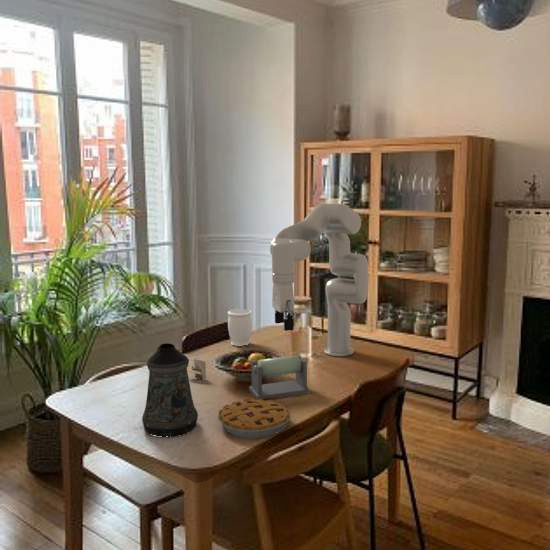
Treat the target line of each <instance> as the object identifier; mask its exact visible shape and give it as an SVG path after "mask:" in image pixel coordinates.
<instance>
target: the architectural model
mask: <svg viewBox="0 0 550 550" xmlns="http://www.w3.org/2000/svg"><path fill="white" fill-rule="evenodd" d="M193 363H194V365H191V367H190V368H187V372H189V373H193V374H194V377H195V376H197V377H196V378H197V379H198V380H199V379H200V378H202V379H200V380H203V381H206V380H205V379H207V374H206V373H207V372H206V370H207V369H206V361H205V360H202V359H198V358H194V360H193Z"/></svg>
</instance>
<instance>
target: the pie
mask: <svg viewBox="0 0 550 550" xmlns="http://www.w3.org/2000/svg"><path fill="white" fill-rule="evenodd" d="M217 420H218V421H219V423H220V424H221V425H222V426H224V427H223V428H224V429H225V431H226V432H227V431H228V432H227V433H229V432H230V433H229V434H230V435H233V434H234V435H236V436H235V437H237V436H240V437H239V438H242V437H244V438H243V439H260V438H259V437H261V438H264V436H266V437H270V435H271V436H273V435H275V434H274V433H276V432H278V433H280V432H281V431H282V429H283V428H284V427H285V426H286V427H287V424H288V422H289V421H290V420H291V412H290V411H289V409H288V407H287V406H284V404H282V403H281V402H279V403H278V402H277V403H276V402H275V400H272V399H250V398H246V399H244V400H242V401H233V402H232V403H231V404H226V405H224V406H223V407H222V409H219V411H218V414H217ZM286 427H285V428H286ZM285 428H284V429H285ZM284 429H283V430H284ZM279 431H280V432H279ZM272 434H273V435H272ZM276 434H277V433H276ZM234 435H233V436H234Z"/></svg>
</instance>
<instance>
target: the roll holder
mask: <svg viewBox="0 0 550 550" xmlns="http://www.w3.org/2000/svg"><path fill="white" fill-rule="evenodd" d="M297 355H298V356H299V358H300V360H302V367H301V371H300V373H295V380H288V381H280V382H273V383H272V382H271V383H265V384H262V383H263V382H262V381H263V377H262V367H261V366H260V365H257V361H256V359H251V360H250V361H251V385H249V388H248V389H249V391H250V393H251V394H252V395H253V397H255V398H256V399H263V400H266V399H265V398H267V399H274V398H280V397H279V396H282V397H287V396H288V395H289V396H295V395H302V394H301V393H303V394H309V393H308V392H310V393H311V389H310V388H309V387H308V361H307V360H306V359H302V357H301V355H299V354H295V356H297ZM256 365H257V366H256ZM254 366H256V373H254V370H253V367H254ZM289 396H288V397H289ZM273 397H274V398H273ZM256 399H255V400H256Z"/></svg>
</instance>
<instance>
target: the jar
mask: <svg viewBox="0 0 550 550" xmlns="http://www.w3.org/2000/svg"><path fill="white" fill-rule="evenodd" d="M252 313H253V312H252V310H250V309H246V308H245V309H244V308H237V309H231V310H227V316H228V319H227V329H228V330H227V331H228V334H229V338H230V340H231V342H230V345H231V346H233V345H237V346H239V345H247V344H249V343H251V342H250V339H251V336H252V330H253V322H252V316H251V315H252ZM249 345H250V344H249ZM237 346H236V347H237ZM247 346H248V345H247Z"/></svg>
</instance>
